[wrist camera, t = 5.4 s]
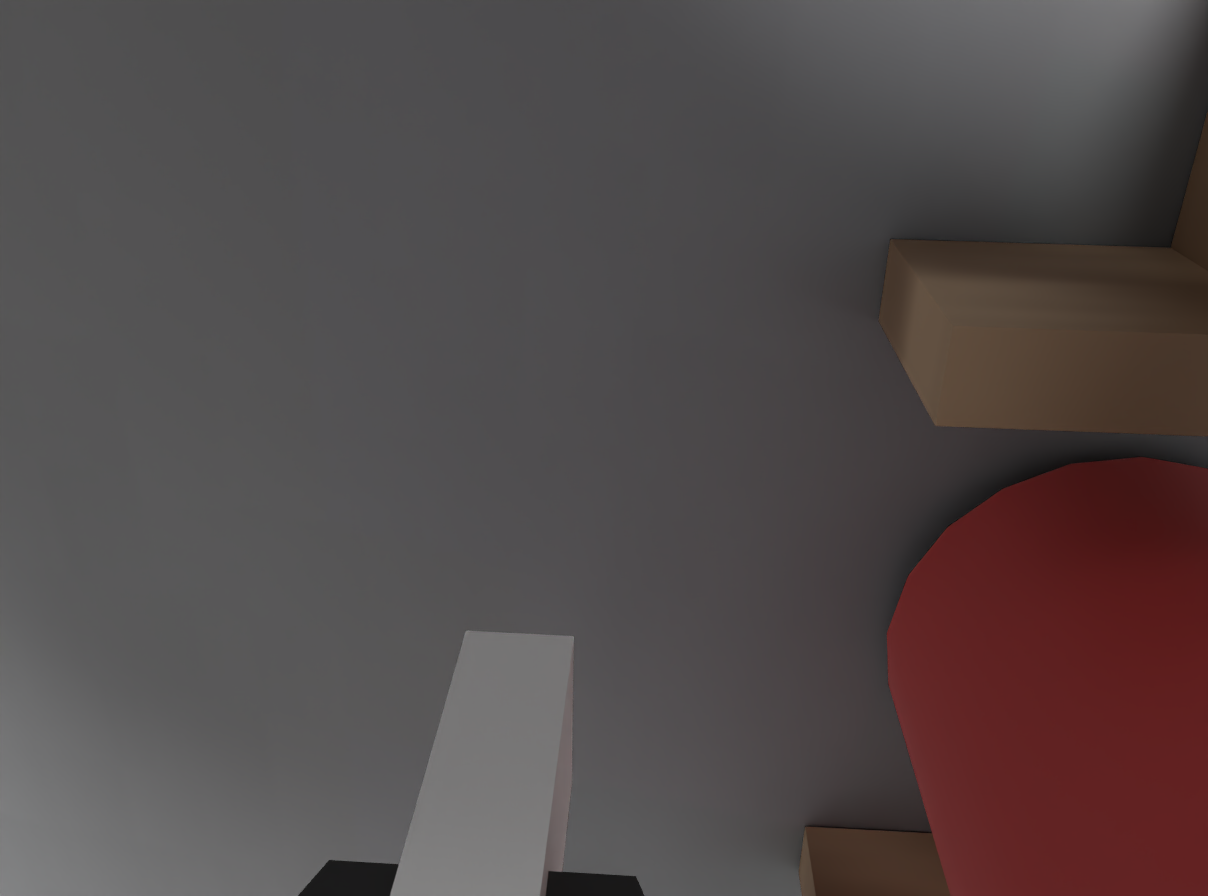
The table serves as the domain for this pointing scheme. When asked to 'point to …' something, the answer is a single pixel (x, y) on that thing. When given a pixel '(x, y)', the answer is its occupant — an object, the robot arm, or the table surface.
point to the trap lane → (1033, 399)
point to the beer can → (1064, 684)
